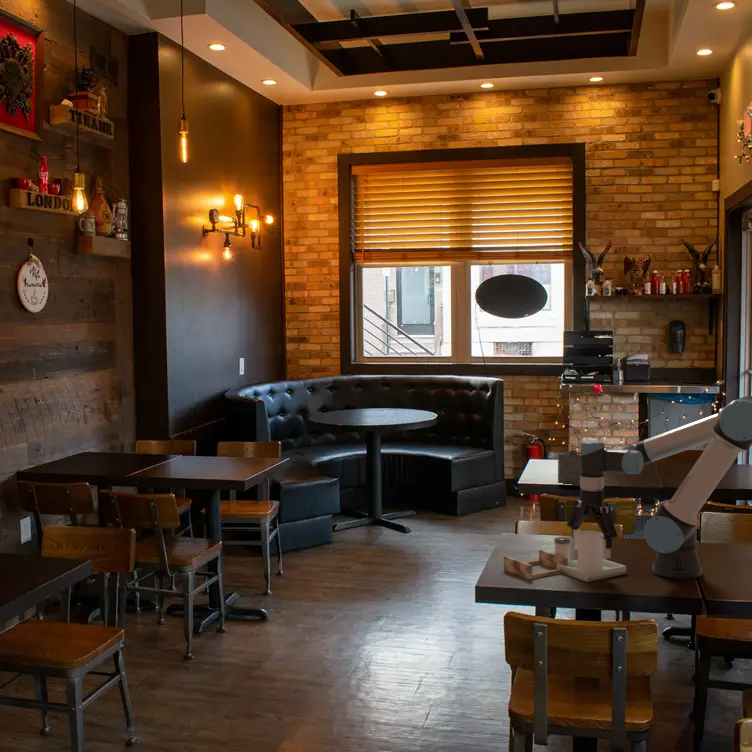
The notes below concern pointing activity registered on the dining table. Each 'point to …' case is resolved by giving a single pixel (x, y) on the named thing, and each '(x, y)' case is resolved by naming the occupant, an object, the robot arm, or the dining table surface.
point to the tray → (608, 571)
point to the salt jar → (562, 547)
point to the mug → (590, 551)
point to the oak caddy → (526, 567)
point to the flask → (569, 468)
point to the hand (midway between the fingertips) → (591, 553)
